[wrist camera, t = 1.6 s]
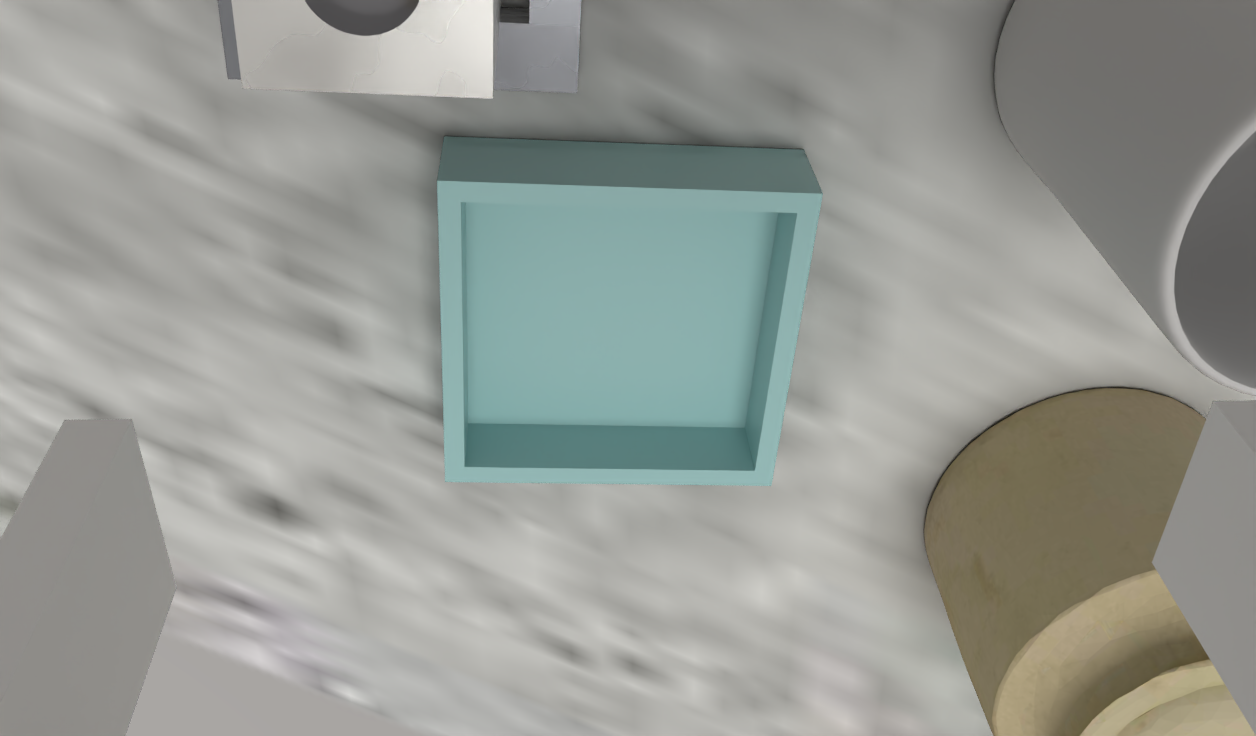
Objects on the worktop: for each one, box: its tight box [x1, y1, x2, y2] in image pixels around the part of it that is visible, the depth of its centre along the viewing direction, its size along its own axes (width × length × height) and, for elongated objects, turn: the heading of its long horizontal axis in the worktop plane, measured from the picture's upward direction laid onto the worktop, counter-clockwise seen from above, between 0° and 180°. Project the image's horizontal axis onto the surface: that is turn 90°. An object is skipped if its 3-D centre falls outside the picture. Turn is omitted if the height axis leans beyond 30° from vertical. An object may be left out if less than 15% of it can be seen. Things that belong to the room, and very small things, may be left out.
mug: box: [994, 0, 1256, 396], centre depth 29 cm, size 12×8×11 cm
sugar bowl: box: [924, 388, 1256, 736], centre depth 38 cm, size 15×11×15 cm
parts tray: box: [437, 136, 823, 486], centre depth 35 cm, size 10×10×3 cm
